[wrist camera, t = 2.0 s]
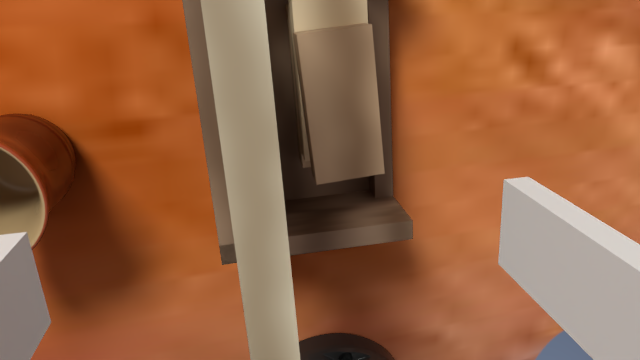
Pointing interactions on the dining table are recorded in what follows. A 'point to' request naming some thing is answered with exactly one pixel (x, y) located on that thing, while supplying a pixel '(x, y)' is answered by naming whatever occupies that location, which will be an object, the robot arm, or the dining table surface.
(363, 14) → the offcut mid
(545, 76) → the dining table surface
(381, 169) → the offcut top
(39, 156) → the mug
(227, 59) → the birch board
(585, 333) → the robot arm
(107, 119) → the dining table surface
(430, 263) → the dining table surface
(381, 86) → the rack
